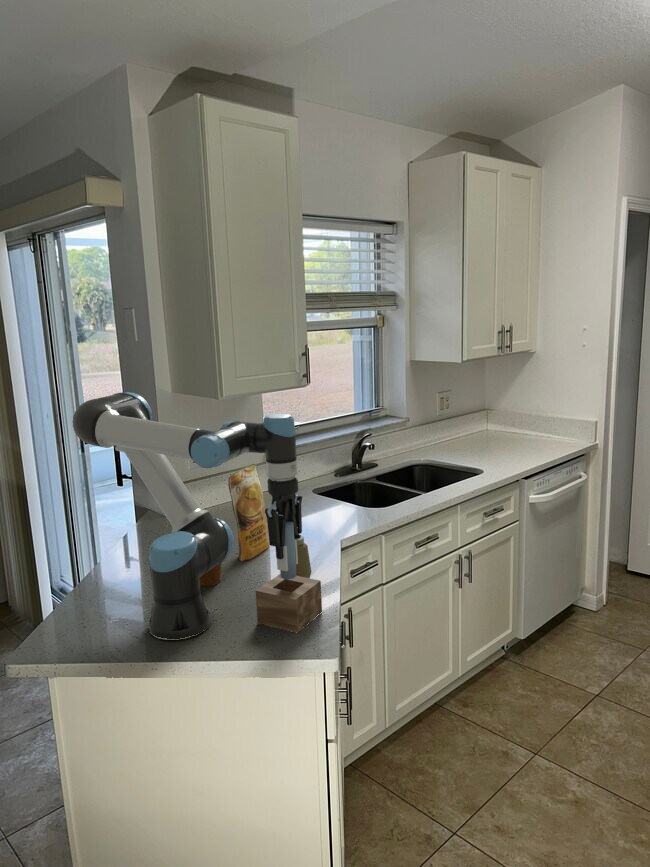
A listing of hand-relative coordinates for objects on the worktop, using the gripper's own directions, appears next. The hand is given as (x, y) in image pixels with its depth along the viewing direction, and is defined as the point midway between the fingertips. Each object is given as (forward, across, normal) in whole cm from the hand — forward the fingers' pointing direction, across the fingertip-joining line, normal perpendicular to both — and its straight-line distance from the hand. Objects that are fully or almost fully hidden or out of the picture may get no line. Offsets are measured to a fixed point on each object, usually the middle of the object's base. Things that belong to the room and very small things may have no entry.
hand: (287, 566), depth 170 cm
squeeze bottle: (+14, +18, +9) cm, 25 cm away
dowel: (+3, 0, 0) cm, 3 cm away
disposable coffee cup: (+14, +9, +34) cm, 38 cm away
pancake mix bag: (+14, +33, +36) cm, 51 cm away
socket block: (+14, 0, 0) cm, 14 cm away
